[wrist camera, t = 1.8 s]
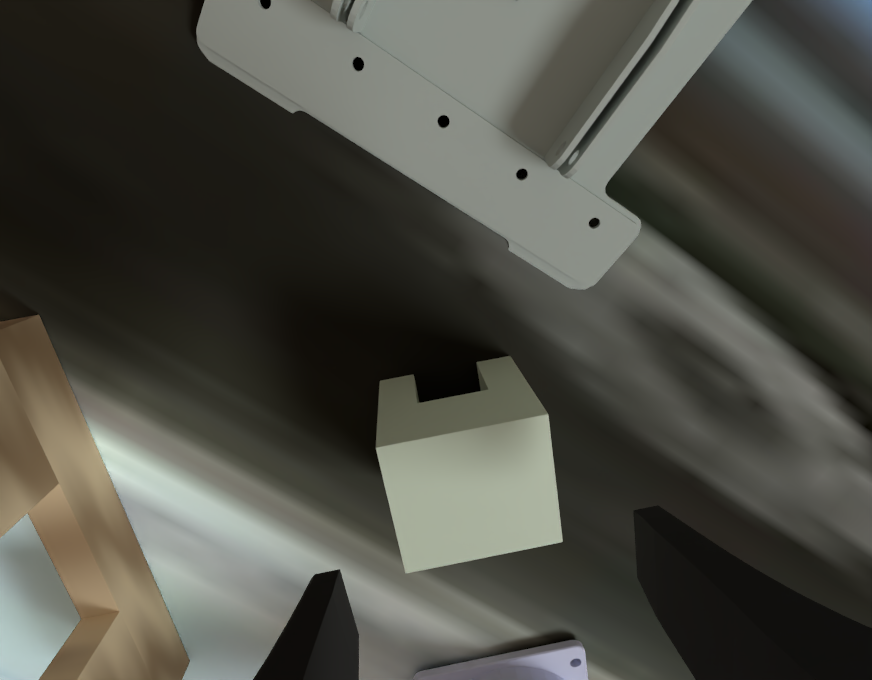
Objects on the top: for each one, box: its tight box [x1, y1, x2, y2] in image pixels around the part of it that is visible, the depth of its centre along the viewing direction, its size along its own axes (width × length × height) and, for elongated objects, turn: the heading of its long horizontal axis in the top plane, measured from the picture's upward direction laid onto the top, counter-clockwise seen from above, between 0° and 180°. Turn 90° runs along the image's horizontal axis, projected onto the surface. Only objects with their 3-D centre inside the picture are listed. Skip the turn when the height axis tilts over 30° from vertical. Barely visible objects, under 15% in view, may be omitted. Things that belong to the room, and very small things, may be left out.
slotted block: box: [376, 356, 563, 573], centre depth 18 cm, size 4×5×5 cm
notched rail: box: [0, 315, 190, 680], centre depth 18 cm, size 16×1×5 cm, turn 10°
